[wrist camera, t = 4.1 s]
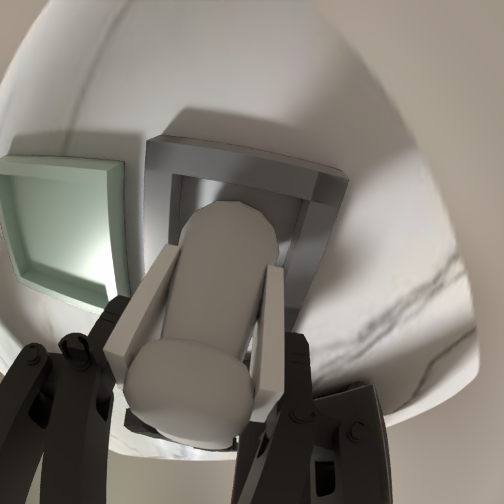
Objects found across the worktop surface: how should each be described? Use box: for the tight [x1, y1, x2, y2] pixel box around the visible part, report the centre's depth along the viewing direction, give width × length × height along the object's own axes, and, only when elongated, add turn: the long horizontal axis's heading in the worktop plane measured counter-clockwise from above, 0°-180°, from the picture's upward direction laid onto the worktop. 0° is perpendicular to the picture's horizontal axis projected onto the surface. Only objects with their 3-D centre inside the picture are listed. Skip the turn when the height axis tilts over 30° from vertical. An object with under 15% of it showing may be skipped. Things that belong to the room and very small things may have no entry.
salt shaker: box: [123, 201, 279, 442], centre depth 12 cm, size 6×6×13 cm
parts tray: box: [0, 155, 131, 315], centre depth 18 cm, size 14×13×2 cm
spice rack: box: [143, 135, 349, 449], centre depth 16 cm, size 11×21×10 cm, turn 169°
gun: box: [124, 408, 238, 452], centre depth 33 cm, size 4×20×10 cm, turn 32°
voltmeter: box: [231, 382, 393, 504], centre depth 23 cm, size 16×16×20 cm
